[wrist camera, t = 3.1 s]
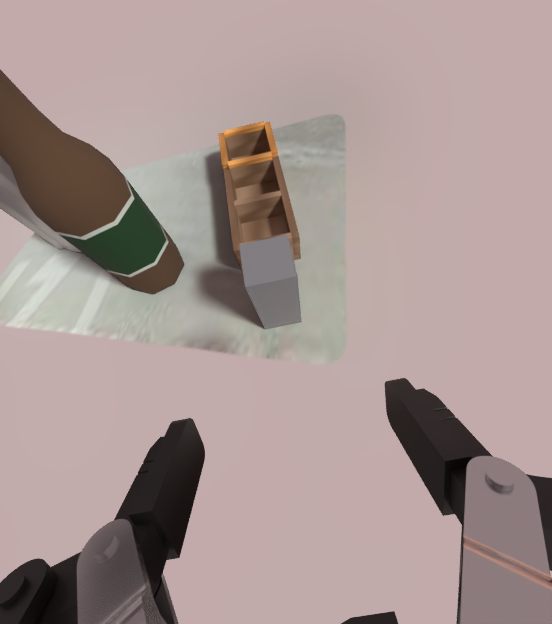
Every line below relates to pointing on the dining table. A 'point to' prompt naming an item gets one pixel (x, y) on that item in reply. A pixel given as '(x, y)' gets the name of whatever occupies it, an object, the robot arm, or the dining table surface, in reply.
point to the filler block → (271, 281)
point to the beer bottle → (84, 197)
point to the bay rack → (256, 188)
